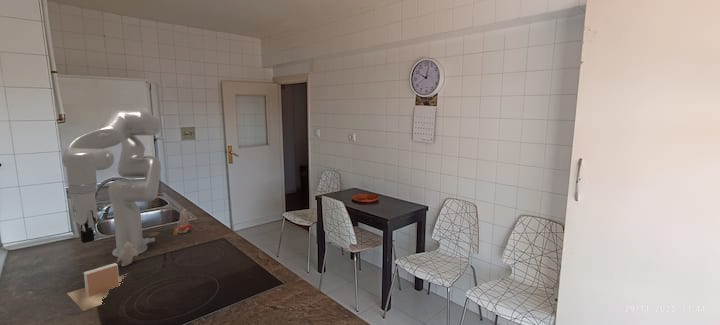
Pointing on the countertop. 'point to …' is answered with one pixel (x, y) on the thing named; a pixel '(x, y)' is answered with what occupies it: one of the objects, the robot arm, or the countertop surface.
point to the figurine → (182, 223)
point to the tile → (101, 279)
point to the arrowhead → (127, 254)
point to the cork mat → (91, 301)
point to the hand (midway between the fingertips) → (88, 241)
